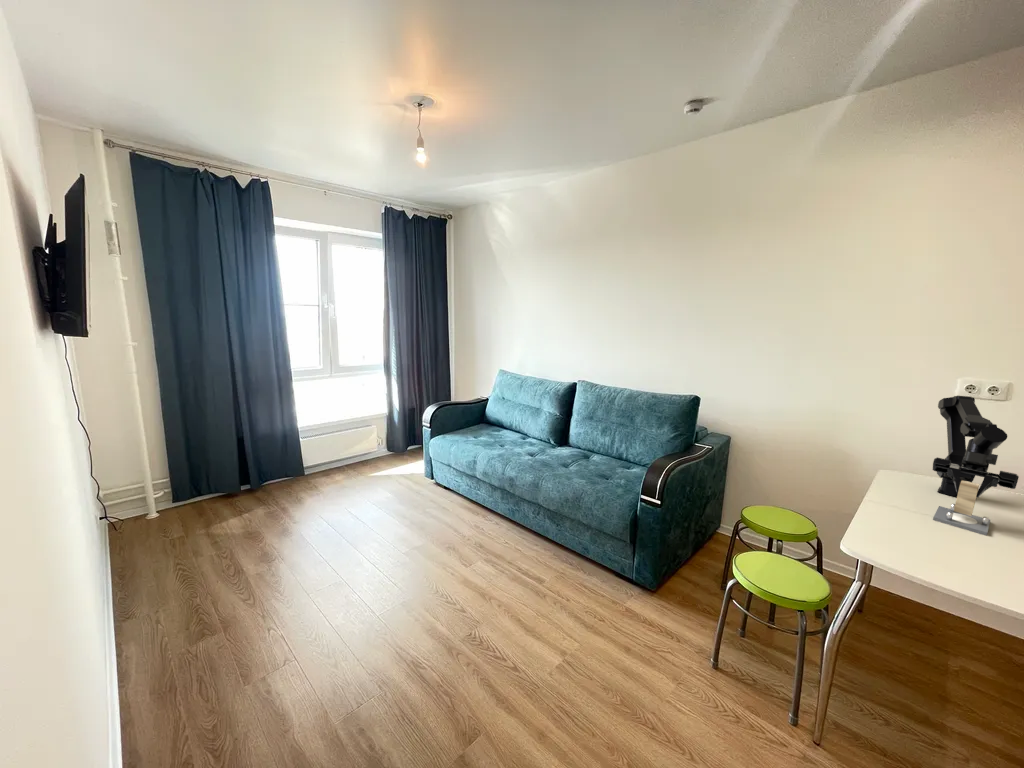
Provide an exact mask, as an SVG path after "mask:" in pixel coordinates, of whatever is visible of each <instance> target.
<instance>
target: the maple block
mask: <svg viewBox="0 0 1024 768" xmlns="http://www.w3.org/2000/svg"><path fill="white" fill-rule="evenodd" d="M980 486H981V484H980V483H976V482H973V481H972V482H968V481H964V480H961V483H960V486H959V491H958V495H957V497H956V499H955V503H954V504H955V508H954V511H955V512H959V513H962V514H966V515H970V516H972V515H973V513H974V509H975V504H976V501H977V497H976V496H977V492H978V490H979V488H980Z"/></svg>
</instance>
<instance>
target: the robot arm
mask: <svg viewBox="0 0 1024 768" xmlns="http://www.w3.org/2000/svg"><path fill="white" fill-rule="evenodd" d="M975 400H976V399H975V397H972V396H966V395H954V396H951V397H944V398H941V399H940V400H939V401H938V404H937V408H938V410H939V413H940V415H941V417H942V418H944V420H945V421H946V433H947V434H946V435H947V436H946V437H947V450H948V451H947V456H946V457H945V458H941V457H935V458H934V459H933V461H932V471H934V472H936V475H937V476H938V477H939V478H940V479H941V483H940V486H939V487H938V489H937V490H936V492H937V493H939V494H942V495H946V496H947V495H948V496H950V497H955V498H957V495H958V491H959V486H960V483H961V480H964V481H968V482H973V481H974V479H975V478H976V476H977V477H980V478H981V477H982V478H983V480H982V482H981V484H980V485H979V489H978V492H977V496H976V499H978V498H979V497H980V496H981V495H982V494H984V492H986V491H987V490H989V489H990V488H992V487H993V488H997V487H998V486H999V487H1002V488H1007V489H1014V490H1015V489H1016V488H1017V485H1018V481H1019V477H1020V476H1019V475H1018V474H1017V473H1014V472H1009V471H1005V470H1004V471H1003V470H999V474H998V473H993V472H989V470H988V469H989V467H990V465H992V466H996V465H997V461H998V457H999V454H994V453H993V450H995V449H997V448H998V447H999V446H1001V445H1002V444H1003V443H1004V442H1005V441H1006V440H1007V439H1008V434H1007V433H1006V431H1005V430H1003V429H1002V428H1000V427H998V425H997V424H995V423H993V422H992V421H991V420H990V419H988V418H985V417H983V416H982V414H981V412H980V410H979V408H978V406H977V405H976V401H975ZM966 437H967V438H970V439H969V440H968V443H967V445H966Z"/></svg>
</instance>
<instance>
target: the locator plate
mask: <svg viewBox="0 0 1024 768" xmlns="http://www.w3.org/2000/svg"><path fill="white" fill-rule="evenodd" d="M955 504H956V503H952V504H950V505H951V506H950V508H948V507H945V506H941V505H938V507H937V509H936V511H935V513H934V514H933V516H932V517H933V518H932V520H933V521H936V522H940V523H942V524H946V525H949V526H953V527H956V528H959V529H963V530H965V531H970V532H973V533H977V534H979V535H983V536H987V535H988V533H989V532H988V531H989V529H990V523H991V519H990V518H989V517H987V516H979V515H974V514H972V516H970V515H966V514H962V513H959V512H955V511H954V508H955Z"/></svg>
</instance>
